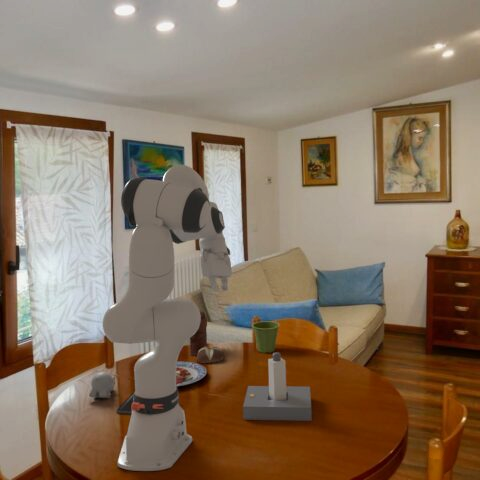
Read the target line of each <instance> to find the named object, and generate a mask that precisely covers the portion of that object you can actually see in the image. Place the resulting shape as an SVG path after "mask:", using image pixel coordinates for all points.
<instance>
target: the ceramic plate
mask: <svg viewBox="0 0 480 480" xmlns="http://www.w3.org/2000/svg"><path fill="white" fill-rule="evenodd" d="M206 375H207V368H206V367H205V366H203V365H201V364H200V363H199V364H198V363H196V362H190V361H177V366H176V387H177V388H178V387H180V386H187V385H190V384H194V383H196V382H198V381H200V380H202V379H203V378H204V377H205V376H206Z"/></svg>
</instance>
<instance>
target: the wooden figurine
mask: <svg viewBox="0 0 480 480" xmlns="http://www.w3.org/2000/svg"><path fill="white" fill-rule="evenodd" d="M199 311H200V315H201V322H200V326H199V328H198V330H197V332H196V333H195V334H194V335H193V336H192V337H190V338H189V339H188V340H189V355H190V356H197V354H198V351H199V350H200V349H201V348H203V347H205V346H206V347H207V346H208V345H207V344H208V342H207V341H208V335H207V333H208V332H207V327H208V320H207V317H206V314H205V312H204V311H203V310H201V309H199ZM207 348H208V347H207Z"/></svg>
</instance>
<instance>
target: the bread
mask: <svg viewBox="0 0 480 480" xmlns="http://www.w3.org/2000/svg"><path fill="white" fill-rule="evenodd" d="M224 358H225V354H224V353H223V349H221V348H219V347H217V346H212V347H211V348H209V347H206V346H205V347H203V348H201V349H200V350H199V351H198V354H197V355H196V360H197V361H198V362H199V364H215V363H220V362H221V361H222V360H224Z"/></svg>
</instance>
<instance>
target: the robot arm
mask: <svg viewBox="0 0 480 480" xmlns="http://www.w3.org/2000/svg"><path fill="white" fill-rule="evenodd" d="M209 196H210V195H209V190H208V188H207V184H206V183H205V181H204V179H203V178H202V177H201V175H200V174H199V173H198V172H197V171H196V170H194V169H193V168H192V167H190V166H188V165H185V164H176V165H173V166H171V167H170V168H169V169H167V171H166V172H165V173H164V175H163V178H162V180H158V179H148V178H147V177H133V178H131V179H130V180H129V181H128V182H127V183H126V184H124V188H122V193H121V198H120V204H121V208H122V211H123V213H124V215H125V217H126V218H127V222H128V224H129V225H130V226H131V227H132V228H134V229H133V230H132V233H131V237H130V243H129V248H128V249H129V250H128V251H129V252H128V272H129V277H128V278H129V279H128V288H127V290H126V292H125V294H124V295H123V296H122V298H121V299H119V300H118V301H117V302H116V303H114V304H112V305H110V306H109V307H108V309H107V310H106V311H105V313H104V315H103V319H102V329H103V333H104V335H105V336H106V338H107V339H108V340H109V341H110V342H111V343H118V344H127V345H128V344H129V345H131V344H140V343H141V344H142V343H153V342H154V343H155V345H154V347H153V348H152V349H151V350H150V351H148V352H146V353H145V354H142V356H141V357H140V358H138V359H137V361H136V362H135V364H134V367H133V368H134V369H133V371H134V372H133V373H134V390H135V391H134V392H133V393H134V397H133V403H132V406H131V408H132V414H130V420H129V424H128V427H127V433H126V435H125V436H124V439H123V441H122V442H123V443H122V446H121V449H120V453H119V455H118V456H119V457H118V460H117V464H116V465H117V467H118V468H121V469H122V470H123V469H124V470H128V471H137V472H154V471H155V472H156V471H163V470H166V469H169V468H172V467H173V465H174V464H175V463H176V462H177V461H178V459H180V457H181V456H182V455H183V453H184V452H185V451H186V450H187V449H188V447H189V446H190V445H191V444H192V443H193V437H192V435H190V434H188V433H187V422H186V415H185V410H184V409H183V408H182V407H181V406H180V404H179V399H180V398H179V397H180V396H179V395H180V393H179V388H178V386H177V387H176V366H177V362H178V358H179V355H180V354H181V352H182V349H183V347H184V346H185V344H186V343H187V342H188V341H189V340H190V339H189V338H190V337H192V336H193V335H194V334H195V333H196V332H197V330H198V328H199V326H200V322H201V315H200V311H199V310H200V309H199V307H198V305H197V304H196V303H195V302H194V301H193V300H191V299H183V298H168V297H169V296H170V295H171V294H172V292H173V290H174V287H175V250H174V249H175V247H174V243H175V244H177V245H179V244H182V243H186V242H190V241H195V240H198V245H199V250H200V267H201V268H200V269H201V274H202V277H204V278H208V281H209V284H210V286H211V290H212V292H216V291H219V284H218V282H217V279H220V282H221V286H220V288H221V291H223V292H226V291H229V287H228V283H229V280H228V278H231V277H232V273H233V272H232V262H231V257H230V255H231V250H230V247H228V246H227V243H226V238H225V236H224V233H223V231H224V230H225V227H226V226H225V221H224V216H223V212H222V211H220V209H219V207H218V205H217V203H216V202H214V201H210V197H209Z"/></svg>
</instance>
